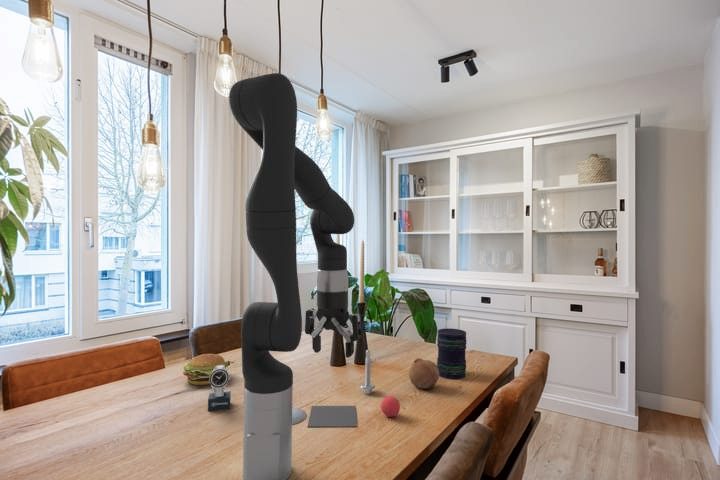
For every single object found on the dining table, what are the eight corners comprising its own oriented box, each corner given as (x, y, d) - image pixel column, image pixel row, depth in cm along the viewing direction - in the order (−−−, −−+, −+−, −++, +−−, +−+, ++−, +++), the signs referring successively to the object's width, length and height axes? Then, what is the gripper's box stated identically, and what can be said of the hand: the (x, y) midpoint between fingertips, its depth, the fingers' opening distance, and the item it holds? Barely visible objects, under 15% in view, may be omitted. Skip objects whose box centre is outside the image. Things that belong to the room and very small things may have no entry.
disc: (303, 425, 96) (303, 424, 96) (263, 425, 96) (263, 424, 96) (307, 408, 106) (307, 407, 106) (270, 408, 106) (270, 407, 106)
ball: (401, 420, 100) (401, 400, 100) (381, 420, 99) (382, 400, 99) (398, 411, 105) (398, 393, 105) (379, 411, 104) (380, 393, 104)
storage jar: (472, 377, 132) (472, 333, 132) (447, 381, 128) (448, 335, 129) (454, 368, 141) (455, 327, 141) (431, 371, 138) (431, 329, 138)
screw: (356, 393, 117) (364, 388, 121) (370, 396, 114) (378, 391, 119) (357, 350, 117) (365, 346, 121) (371, 352, 114) (379, 348, 119)
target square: (356, 427, 96) (356, 426, 96) (307, 427, 95) (307, 426, 95) (355, 406, 108) (355, 405, 108) (311, 406, 107) (311, 405, 107)
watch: (207, 414, 101) (207, 372, 102) (210, 402, 109) (210, 362, 109) (229, 412, 103) (230, 370, 103) (231, 400, 111) (231, 361, 111)
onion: (411, 395, 123) (398, 365, 126) (434, 383, 128) (421, 354, 130) (426, 395, 115) (412, 362, 117) (450, 382, 119) (436, 350, 122)
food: (173, 386, 121) (173, 360, 121) (198, 371, 135) (198, 348, 135) (214, 389, 119) (215, 363, 119) (235, 374, 133) (236, 350, 133)
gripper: (298, 288, 93) (299, 355, 94) (352, 292, 87) (353, 363, 88) (314, 283, 100) (315, 345, 101) (365, 287, 94) (366, 353, 95)
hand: (333, 354), depth 94 cm, fingers open, 8 cm apart
